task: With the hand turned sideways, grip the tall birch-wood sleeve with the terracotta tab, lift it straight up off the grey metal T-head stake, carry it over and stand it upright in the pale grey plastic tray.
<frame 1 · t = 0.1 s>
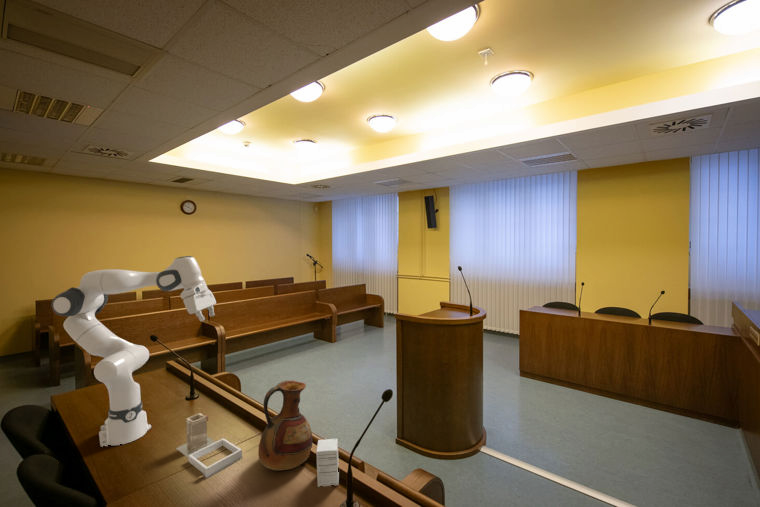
hand: (207, 318, 152), 52 cm above the table, tool tilted 20°, fingers open, 8 cm apart
ceramic pitcher: (286, 461, 131), on the table
tray: (215, 461, 132), on the table
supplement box: (328, 479, 120), on the table
stake: (197, 448, 141), on the table
sleeve: (197, 445, 141), point 1 cm above the table, touching stake
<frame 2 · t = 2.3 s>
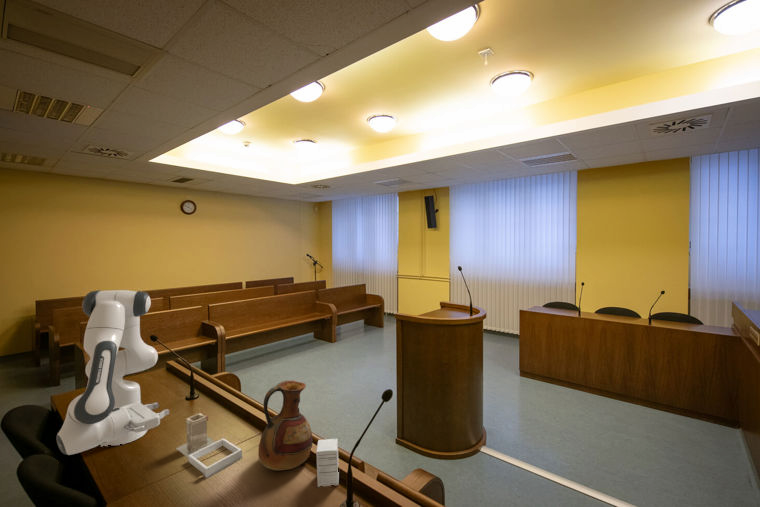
hand: (163, 407, 131), 22 cm above the table, tool horizontal, fingers open, 8 cm apart
nothing on the table moved.
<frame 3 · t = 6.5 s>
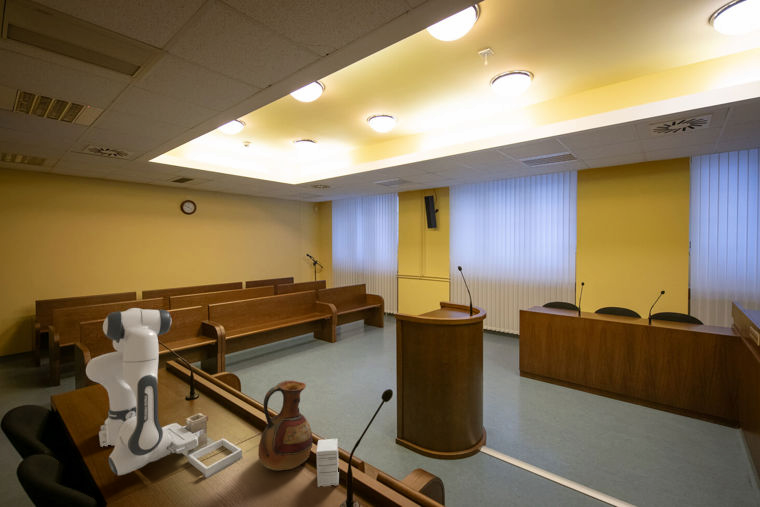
hand: (198, 428, 142), 8 cm above the table, tool horizontal, fingers closed on sleeve, 6 cm apart
sleeve: (197, 445, 141), point 1 cm above the table, touching gripper, stake
everything else where it was.
when the fingers open (9 cm above the table, at t = 13.2 s): sleeve drops 1 cm, resting on tray.
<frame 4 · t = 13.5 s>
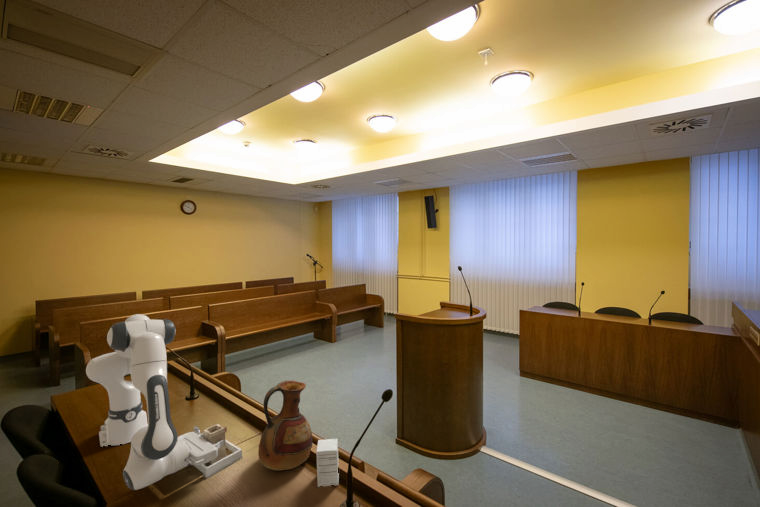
hand: (217, 437, 133), 9 cm above the table, tool horizontal, fingers open, 8 cm apart
sleeve: (215, 459, 132), point 1 cm above the table, touching tray
everything else where it was.
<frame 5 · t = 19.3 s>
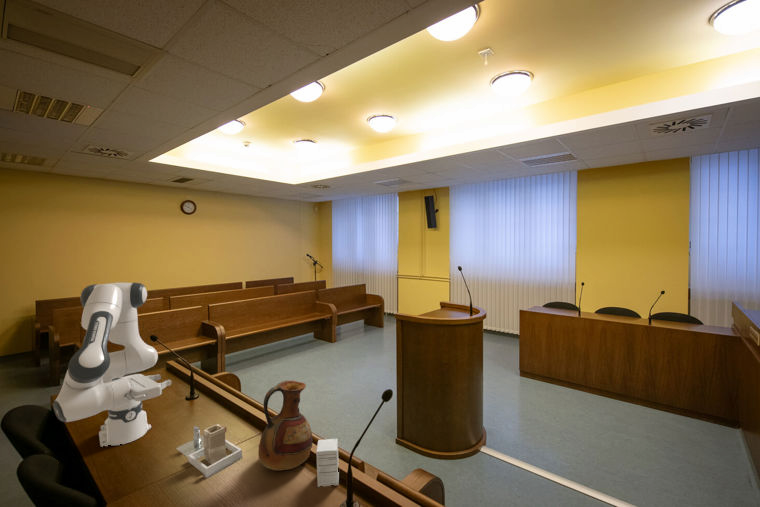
hand: (165, 379, 126), 35 cm above the table, tool horizontal, fingers open, 8 cm apart
nothing on the table moved.
at the end: sleeve inside the target area on the tray (0.2 cm from its centre), point 0.8 cm above the tray's base; sleeve tilted 0°; the gripper is holding nothing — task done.
